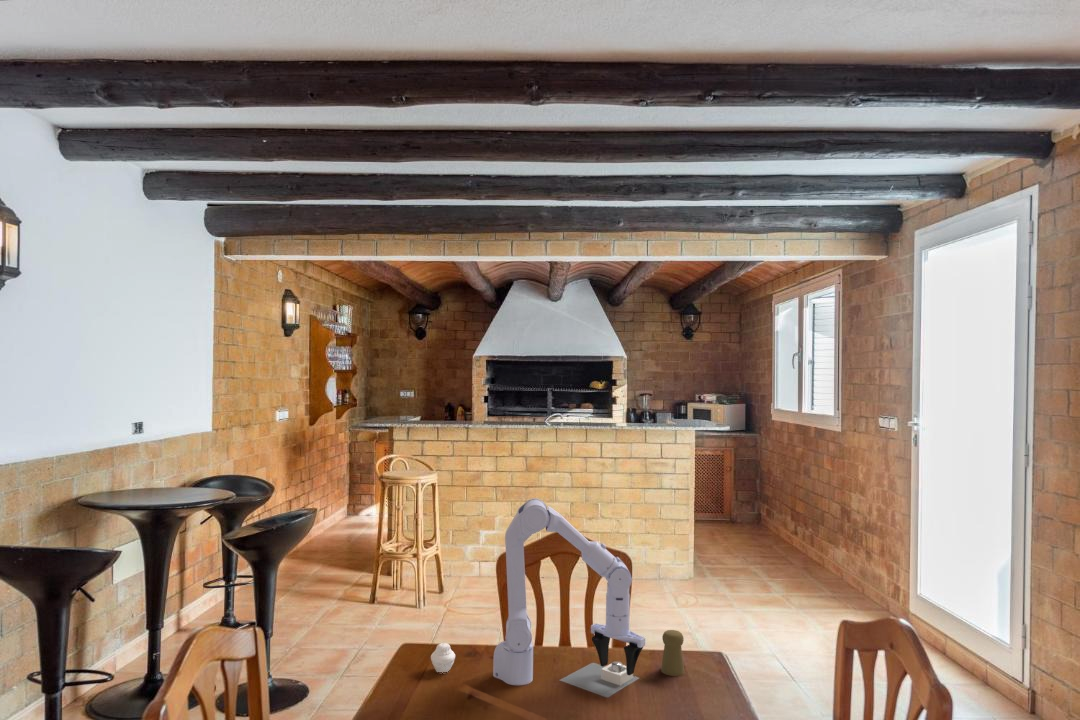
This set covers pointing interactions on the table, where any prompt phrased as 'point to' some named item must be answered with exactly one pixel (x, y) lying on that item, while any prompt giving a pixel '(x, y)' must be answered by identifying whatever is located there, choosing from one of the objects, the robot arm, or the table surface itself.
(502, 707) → the table surface
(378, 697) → the table surface
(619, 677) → the collar
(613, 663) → the post
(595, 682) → the board
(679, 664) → the cork
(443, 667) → the white rounded jar shape
